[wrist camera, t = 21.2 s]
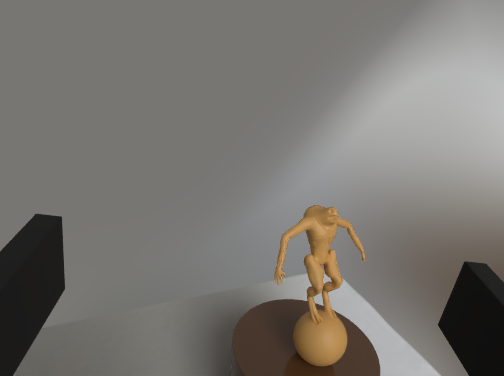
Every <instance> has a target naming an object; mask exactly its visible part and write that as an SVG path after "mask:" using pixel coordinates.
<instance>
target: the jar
mask: <svg viewBox="0 0 504 376" xmlns="http://www.w3.org/2000/svg"><path fill="white" fill-rule="evenodd" d="M315 306H316V310H324V306H322V305H319V304H316V303H315ZM309 311H310V310H309V305H308V301H302V300H293V299H283V300H274V301H269V302H266V303H262V304H260V305H258V306H256V307H254V308H252V309H250V310H249V311H248V312H247V313H245V314H244V315H243V317H242V318H241V319H240V320H239V322H238V323H237V325H236V327H235V330H234V333H233V337H232V344H231V351H230V361H231V367H232V368H231V374H230V376H380V364H379V359H378V356H377V353H376V351H375V349H374V347H373V345H372V344H371V342H370V341H369V339H368V338H367V336H366V335H365V334H364V333H363V332H362V331H361V330H360V329H359V328H358V327H357V326H356V325H355V324H354V323H352V322H351V321H350V320H349V319H347V318H346V317H344V316H343V315H341V314H339V313H337V312H336V311H334V310H333V311H334V312H335V314H336V316H337V317H338V318H339V319H340V320H341V322H342V323H343V325H344V327H345V329H346V332H347V346H346V350H345V352H344V354H343V355H342V357H341V358H340V359H339V360H338V361H337V362H335V363H333V364H331V365H328V366H315V365H312V364H310V363H308V362H306V361H305V360H304V359H303V358H302V357H301V356H300V355H299V353H298V352H297V350H296V348H295V345H294V340H293V333H294V328H295V325H296V323H297V321H298V320H299V319H300V318H301V317H302V316H303V315H304V314H305V313H307V312H309Z"/></svg>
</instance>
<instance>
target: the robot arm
mask: <svg viewBox="0 0 504 376" xmlns="http://www.w3.org/2000/svg"><path fill="white" fill-rule="evenodd" d="M64 289H65V279H64V257H63V235H62V217H59V216H51V215H42V214H35V215H34V217H33V218H32V219H31V220H30V221H29V222H28V223H27V224H26V225H25V226H24V227H23V228H22V229H21V230H20V231H19V232H18V233H17V234H16V235H15V237H14V238H13V239H12V240H11V241H10V242H9V243H8V244H7V245H6V246H5V247H4V248H3V249H2V250H1V251H0V376H13V374H14V373H15V371H16V369H17V368H18V366H19V365H20V363H21V361H22V360H23V358H24V356H25V355H26V353H27V351H28V350H29V348H30V346H31V345H32V343H33V341H34V340H35V338H36V336H37V335H38V333H39V331H40V330H41V328H42V326H43V325H44V323H45V321H46V319H47V318H48V316H49V315H50V313H51V311H52V310H53V308H54V306H55V305H56V303H57V301H58V300H59V298H60V296H61V294H62V293H63V291H64ZM438 326H439V328H440V329H441V331H442V332H443V334H444V336H445V337H446V339H447V340H448V342H449V344H450V345H451V347H452V349H453V350H454V352H455V354H456V355H457V357H458V358H459V360H460V362H461V363H462V365H463V367H464V368H465V370H466V371H467V373H468V375H469V376H504V282H503V281H502V280H501V279H500V278H499V277H498V276H497V275H496V274H495V273H494V272H493V271H492V270H491V269H490V268H489V266H488V265H487V264H483V263H474V262H464V264H463V266H462V269H461V271H460V273H459V276H458V278H457V281H456V283H455V285H454V288H453V290H452V293H451V295H450V297H449V300H448V302H447V304H446V307H445V309H444V311H443V314H442V316H441V319H440V321H439V323H438Z"/></svg>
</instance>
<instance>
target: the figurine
mask: <svg viewBox="0 0 504 376" xmlns="http://www.w3.org/2000/svg"><path fill="white" fill-rule="evenodd" d="M337 215H338V212H337V210H336V208H335V207H330V208H324V207H322V206H319V205H314V206H311V207H309V208H308V209H307V210H306V211H305V214H304V218H303V219H301V220H300V221H299V223H298V224H297V225H295V226H294V227H292V228H291V229H289V230H288V231H287V232H285V233H284V235H283V236H282V238H281V243H280V250H279V255H278V262H277V267H276V270H275V283H276V278H277V283H278V285H279V278H280V280H281V283H282V284H283V281H282V275H284V276H285V277H286V275H285V273H284V272H283V271H282V265H283V263H284V260H285V255H286V249H287V246H288V241H289V239H291V238H293V237H294V236H296V235H298V234H299V233H301V232H303V231H305V230H306V233H307V237H308V241H309V244H310V248H311V254H309V255H307V256H305V258H304V264H305V266H306V269H307V273H308V277H309V280H310V283H311V284H312V286H313V287H309V288H308V289H307V294H308V295H307V300H308V305H309V310H310V311H309V312H307V313H305V314H304V315H303V316H302V317H301V318H300V319H299V320H298V321H297V323H296V325H295V328H294V333H293V340H294V345H295V348H296V350H297V352H298V353H299V355H300V356H301V357H302V358H303V359H304V360H305V361H306V362H308V363H310V364H312V365H315V366H328V365H331V364H333V363H335V362H337V361H338V360H339V359H340V358H341V357H342V355H343V354H344V352H345V350H346V346H347V332H346V329H345V327H344V325H343V323H342V322H341V320H340V319H339V318H338V317H337V316H336V314H335V312H334V311H333V310H332V308H331V305H330V301H329V297H328V292H330V291H333V290H334V289H337V288H339V287H340V286H341V284H342V282H343V280H342V278H341V276H340V273H339V270H338V266H337V263H336V252H335V251H334V250H333V249H331V250H329V247H330V244H331V243H332V241H333V239H334V237H335V236H336V235H335V234H336V231H337V226H340V227H343V228H347V230H348V233H349V235H350V236H351V238H352V240H353V242H354V243H355V245H356V246H357V247H358V248H359V250H360V251H361V254H362V259H363V260H364V263H365V256H364V250H363V247H362V245H361V242H360V240H359V239H358V237H357V236H356V234H355V232H354V230H353V227H352V225H351V224H350V223H349V222H348V221H346V220H344V219H342V218H339V217H338V216H337ZM323 264H324V270H325V274H326V275H327V276H328V277H330V278H331V280H332V282H326V283H325V284H324V286H323V277H324V271H323V268H322V267H321V265H323ZM322 289H323V290H322ZM321 291H322V297H323V303H324V310H316V306H315V302H314V298H313V296H316V295H317V294H319V293H320V292H321Z"/></svg>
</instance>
